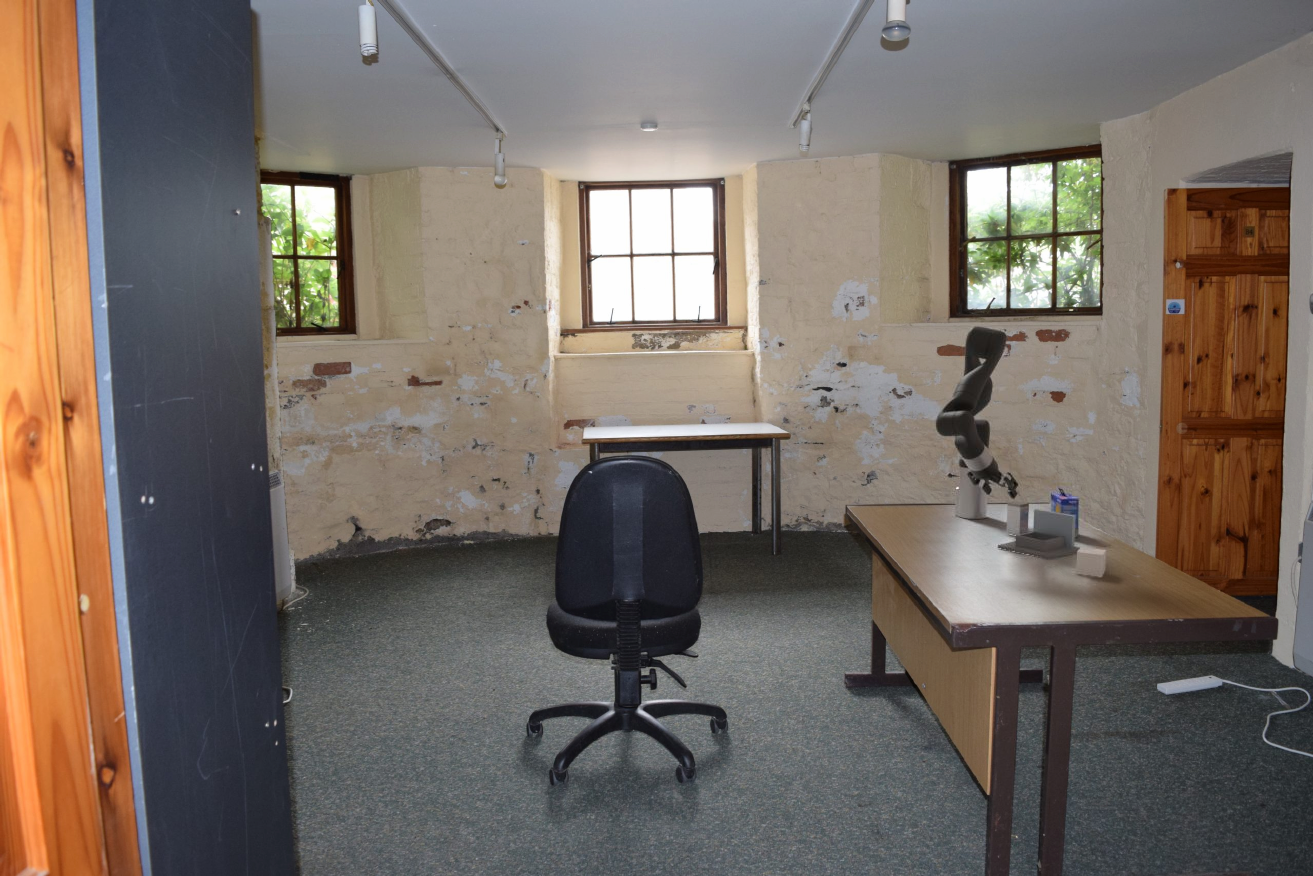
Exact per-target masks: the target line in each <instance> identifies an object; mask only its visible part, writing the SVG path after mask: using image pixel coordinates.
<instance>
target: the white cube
mask: <svg viewBox="0 0 1313 876" xmlns="http://www.w3.org/2000/svg"><path fill="white" fill-rule="evenodd" d="M1079 547H1080V549H1079V550H1078V551H1077V552H1076V563H1075V564H1076V565H1075V566H1076V567H1075V568H1076V569H1075V570H1076V571H1075V575H1078V574H1083V575H1082V576H1086V575H1091V576H1090V577H1094V576H1099V577H1098V578H1101V577H1102V578H1103V576H1104V575H1105V573H1104V572H1106V559H1107V557H1106V556H1107V549H1099V548H1092V547H1081V546H1079ZM1103 574H1104V575H1103ZM1100 576H1101V577H1100Z"/></svg>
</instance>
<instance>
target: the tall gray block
mask: <svg viewBox="0 0 1313 876" xmlns="http://www.w3.org/2000/svg"><path fill="white" fill-rule="evenodd" d="M1006 505H1007V511H1006V534H1012V535H1020V534H1024V533H1029V513H1030V510H1029V509H1030V503H1028V502H1024V501H1017V500H1016V501H1015V500H1014V501H1010V502H1007V504H1006ZM1006 534H1005V535H1006Z"/></svg>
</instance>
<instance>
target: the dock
mask: <svg viewBox="0 0 1313 876" xmlns="http://www.w3.org/2000/svg"><path fill="white" fill-rule="evenodd" d="M1075 521H1076V516H1075V515H1069V514H1063V513H1057V512H1051V510H1045V509H1039V508H1037V509H1033V524H1032V525H1033V527H1032V531H1028V533H1024V534H1020V535H1016V536H1015V540H1014V541H1010V542H1006V543H1001V544H998V545H997V549H998V548H1001V549H1000V550H1002V549H1006V550H1005V551H1007V550H1010V551H1009V552H1012V551H1015V552H1014V553H1016V552H1019V553H1018V554H1021V553H1024V554H1023V555H1025V554H1029V555H1028V556H1030V555H1034V556H1033V557H1035V556H1038V557H1037V558H1039V557H1042V558H1041V559H1044V558H1045V560H1048V559H1050V560H1053V559H1057V558H1060V556H1061V557H1065V556H1068V555H1071V554H1075V553H1076V554H1077V551H1078V550H1079V549H1080V547H1081V546H1075V542H1076V541H1075V539H1076V538H1075ZM1064 555H1065V556H1064ZM1056 557H1057V558H1056Z"/></svg>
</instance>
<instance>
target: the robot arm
mask: <svg viewBox="0 0 1313 876" xmlns="http://www.w3.org/2000/svg"><path fill="white" fill-rule="evenodd" d="M1007 340H1008V339H1007V334H1006V333H1005V332H1004V331H1001V330H998V329H994V328H989V327H983V326H976V325H975V326H973V327H971V328H970V329H969V330H968V332H967V335H966V338H965V346H964V370H963V377H962V378H961V379H960V380H959V381H958V383H957V385H956V387H955V390H954V392H953V395H952V397H951V399H949V401H948V402H947V403H946V404H945V405H944V406H943V408H942V409H941V411H939V413H938V415H937V417H936V421H935V429H936V431H937V433H938V434H939V435H940V436H943V437H955V438H954V446H955V448H956V450H957V451H958V452H959V454H960V456H961V457H960V458H959V460H958V487H956V488H955V507H954V508H955V509H954V515H955V516H957V517H960V518H962V519H970V520H971V519H972V520H979V519H986V518H987V508H988V507H987V506H988V505H987V504H988V495H990V494H991V493H992V491H993V488H992V487H991V485H994V486H996V487H997V488H998V489H1003V490H1005V491H1006V492H1007V494H1008V495H1009V497H1010V498H1011V499H1013V500H1015V498H1016V497H1017V495H1018V492H1017V488H1018V486H1019V482H1018V481H1017V480H1016V479H1015V478H1014V476H1013V475H1012V473H1011V472H1009V471H1008V472H1006V474H1005V473H1002V472H1001V471H1000V470H999V465H998V463H997V461H996V459H995V457H994V456H993V454H992V453H991V451H990V450H989V449H990V438H991V436H990V435H991V426H990V423H989V420H987V419H975V416H976V415H978V414H979V413H981V412H982V411H983V410H984V409H985V408H986V407H987V406H988V405H989V404H990V402H991V399H992V395H993V388H994V387H993V385H994V384H993V380H992V378H991V376H992V374H993V372H994V370H995V369H996V367H997V365H998V363H999V362H1000V360H1001V358H1002V356H1003V354H1004V351H1005V349H1006V345H1007ZM980 359H981V360H984V361H983V362H981V361H980ZM1000 482H1001V483H1000ZM1006 485H1007V486H1006Z"/></svg>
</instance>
